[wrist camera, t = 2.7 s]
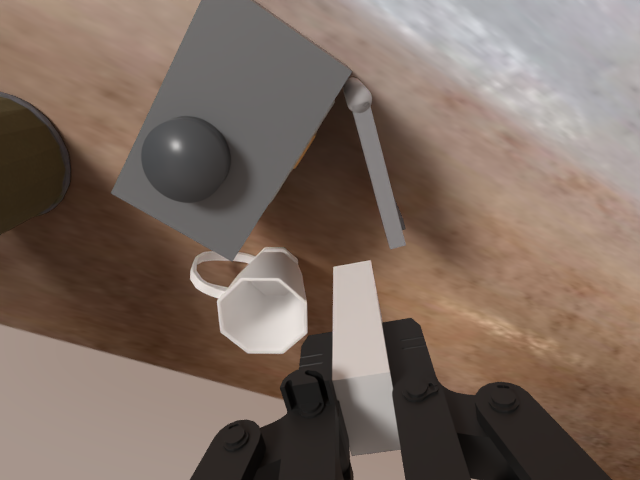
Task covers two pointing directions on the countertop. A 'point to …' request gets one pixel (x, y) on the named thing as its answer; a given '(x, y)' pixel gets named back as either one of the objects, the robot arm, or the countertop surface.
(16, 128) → the canister
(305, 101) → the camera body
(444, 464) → the robot arm
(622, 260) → the countertop surface
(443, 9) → the countertop surface
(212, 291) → the cup
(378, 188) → the door
